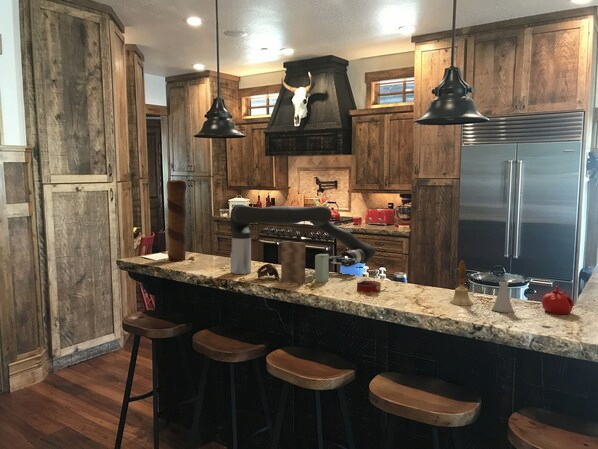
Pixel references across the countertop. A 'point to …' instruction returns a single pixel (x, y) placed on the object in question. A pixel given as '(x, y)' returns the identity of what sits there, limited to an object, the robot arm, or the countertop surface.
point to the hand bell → (461, 289)
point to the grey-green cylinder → (321, 267)
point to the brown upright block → (293, 263)
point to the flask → (503, 300)
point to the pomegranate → (557, 302)
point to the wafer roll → (176, 219)
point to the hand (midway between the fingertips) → (334, 262)
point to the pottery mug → (267, 271)
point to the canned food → (369, 285)
